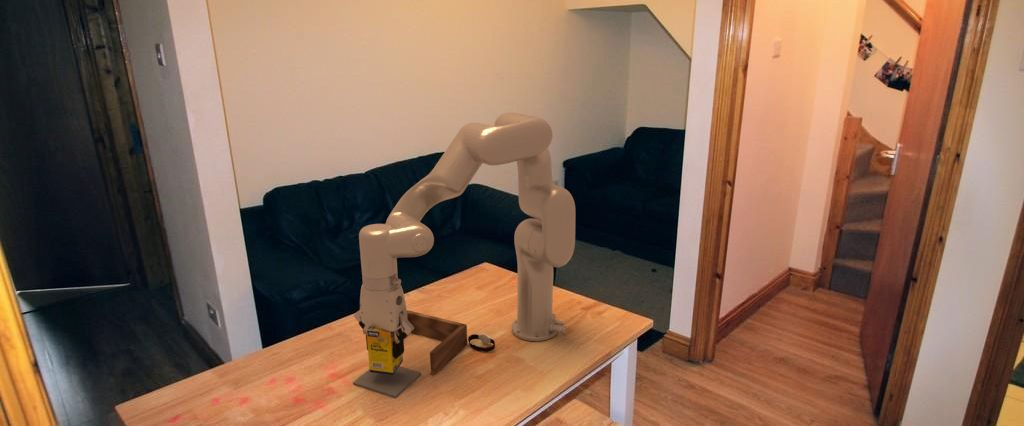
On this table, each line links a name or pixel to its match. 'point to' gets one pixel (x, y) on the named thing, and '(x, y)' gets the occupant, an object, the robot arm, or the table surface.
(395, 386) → the mat
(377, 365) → the supplement box
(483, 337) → the watch
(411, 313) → the open box
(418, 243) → the robot arm
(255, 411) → the table surface
